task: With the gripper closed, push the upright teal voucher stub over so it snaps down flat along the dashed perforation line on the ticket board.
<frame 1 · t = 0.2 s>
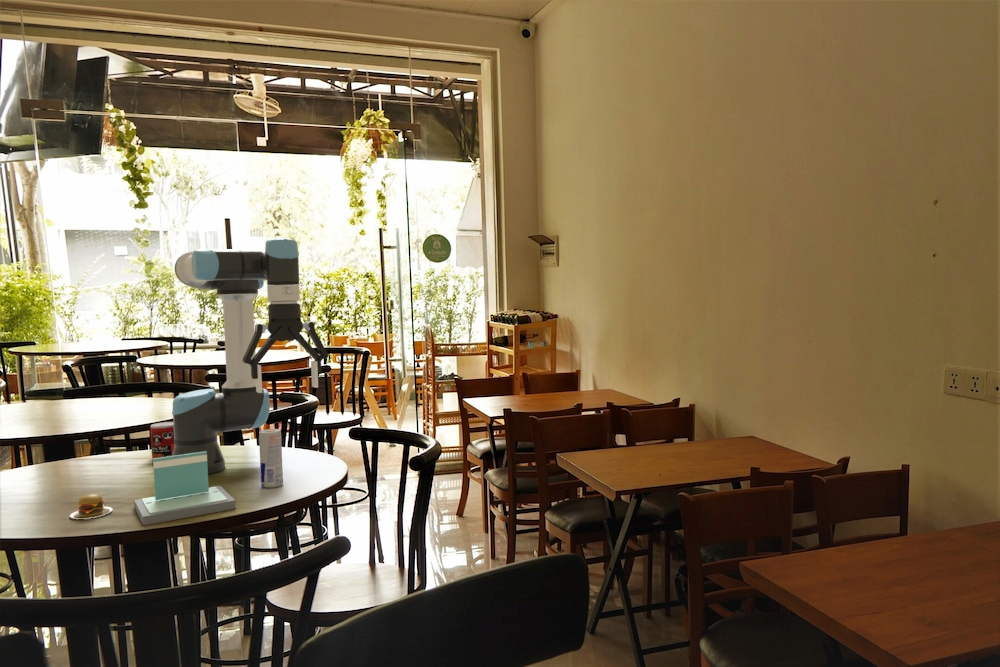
hand: (287, 389, 173), 28 cm above the table, fingers open, 13 cm apart
hamburger: (91, 517, 168), on the table
stub: (181, 475, 173), point 8 cm above the table, hinge at 0.0°
ticket board: (184, 508, 171), on the table
canned food: (165, 458, 225), on the table
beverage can: (272, 486, 190), on the table
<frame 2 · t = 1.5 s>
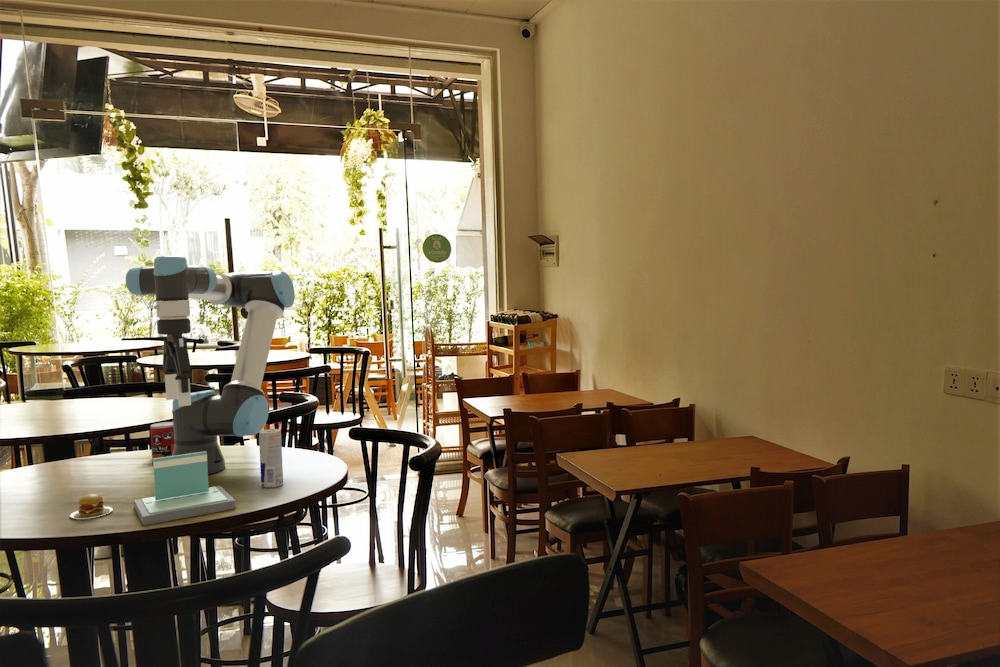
hand: (178, 402, 178), 25 cm above the table, fingers open, 13 cm apart
nothing on the table moved.
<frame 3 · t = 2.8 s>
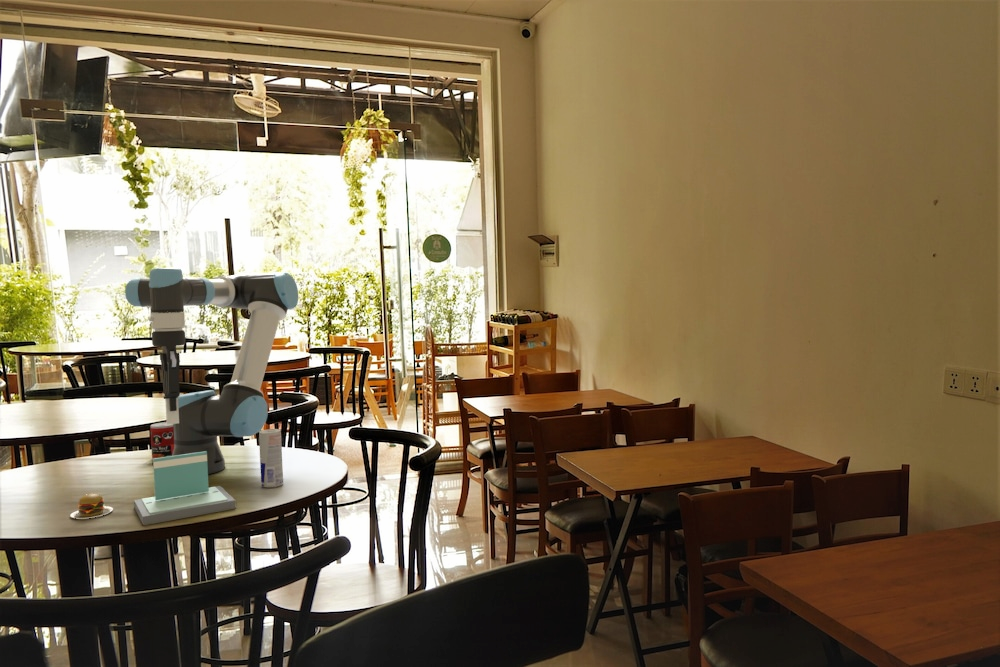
hand: (172, 423, 178), 19 cm above the table, fingers closed
nothing on the table moved.
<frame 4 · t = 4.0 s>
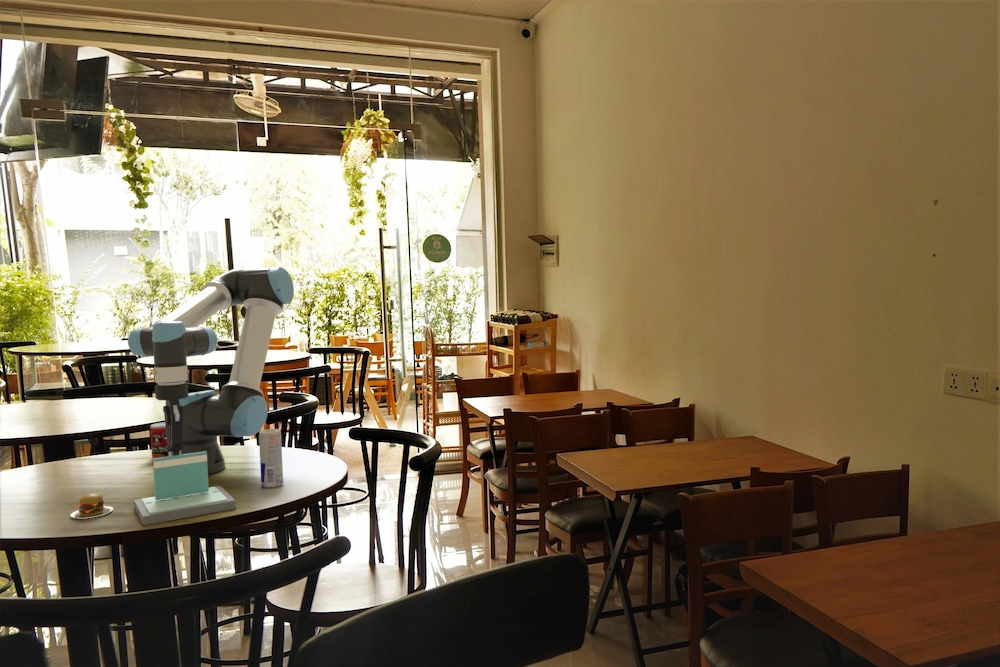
hand: (176, 475, 179), 6 cm above the table, fingers closed
nothing on the table moved.
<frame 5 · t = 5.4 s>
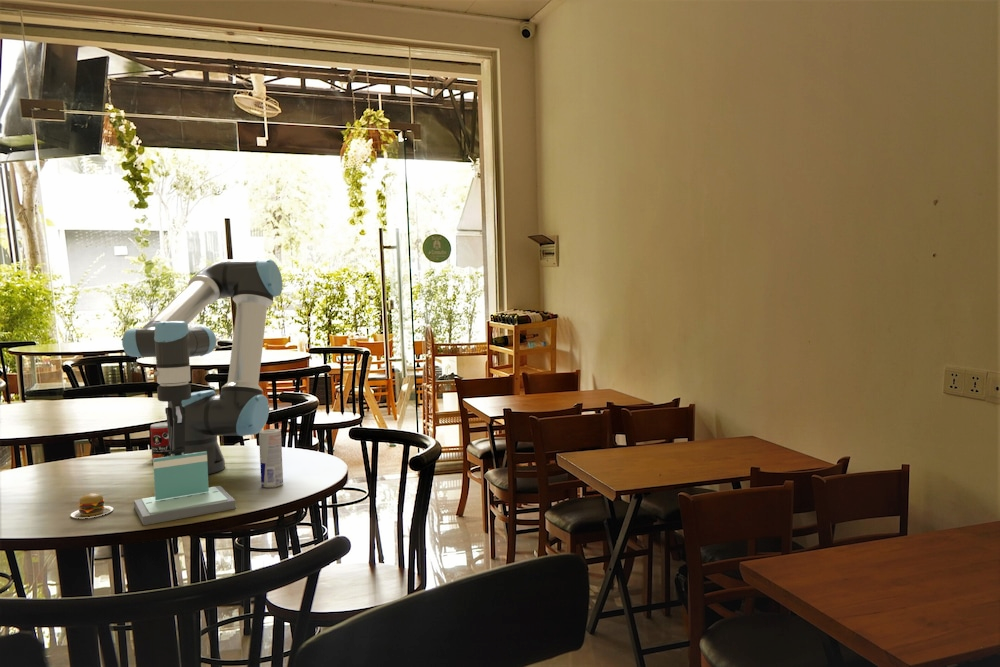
hand: (178, 478, 175), 6 cm above the table, fingers closed
stub: (181, 475, 173), point 8 cm above the table, hinge at 0.7°, touching gripper
everything else where it was.
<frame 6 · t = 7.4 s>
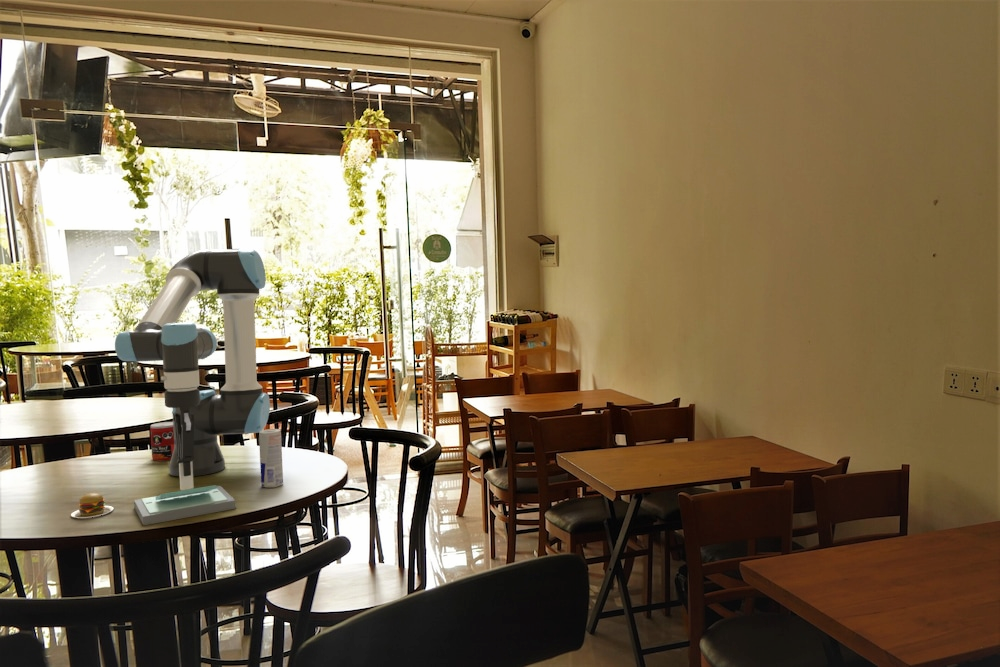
hand: (186, 488, 166), 6 cm above the table, fingers closed
stub: (185, 492, 169), point 4 cm above the table, hinge at 73.0°, touching gripper
everything else where it was.
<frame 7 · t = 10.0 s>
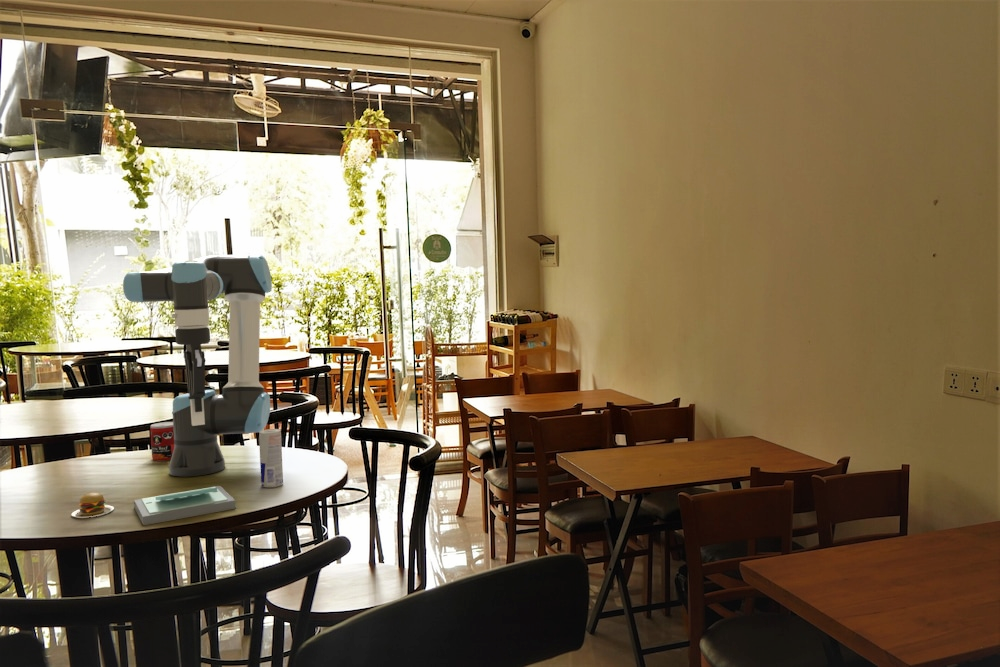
hand: (198, 424, 170), 20 cm above the table, fingers closed
stub: (186, 494, 169), point 4 cm above the table, hinge at 76.8°
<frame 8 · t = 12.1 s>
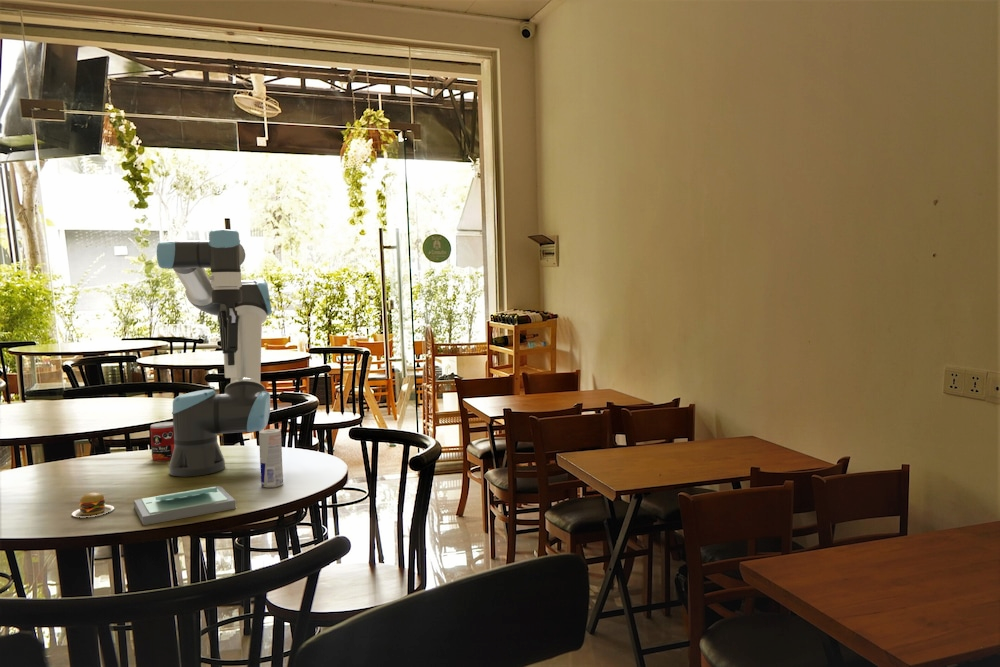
hand: (230, 377, 188), 29 cm above the table, fingers closed
at the end: stub at +77° (first picture: +0°) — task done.
